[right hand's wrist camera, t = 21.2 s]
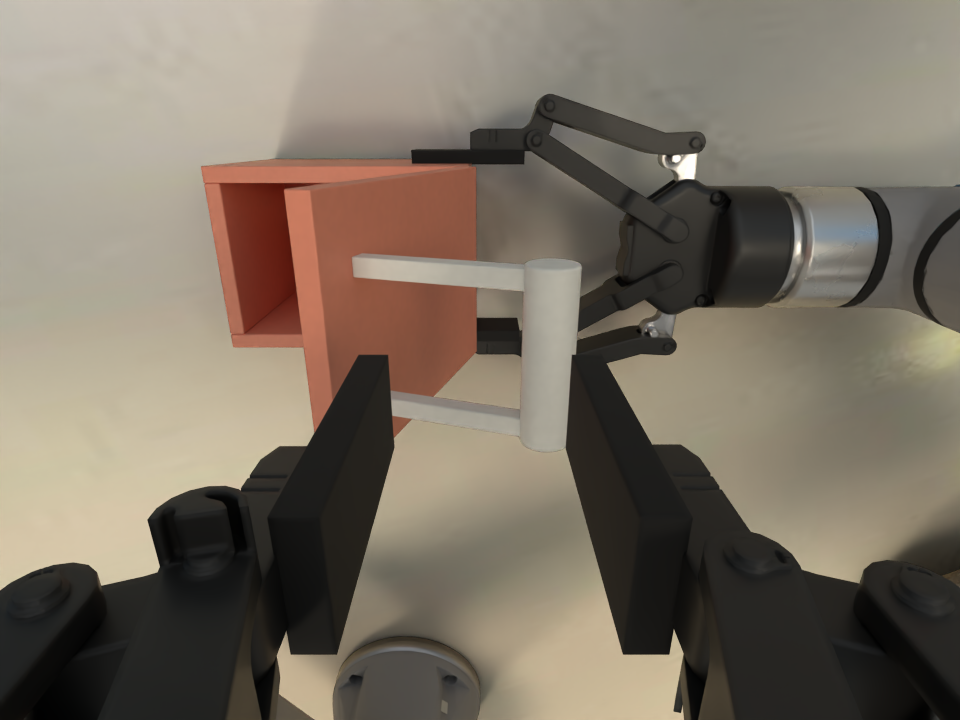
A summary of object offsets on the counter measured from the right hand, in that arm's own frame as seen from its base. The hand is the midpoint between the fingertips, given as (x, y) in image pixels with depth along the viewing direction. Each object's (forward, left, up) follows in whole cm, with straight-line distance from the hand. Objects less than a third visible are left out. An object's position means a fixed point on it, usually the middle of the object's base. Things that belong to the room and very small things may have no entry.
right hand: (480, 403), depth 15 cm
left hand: (-2, +3, -22) cm, 23 cm away
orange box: (-2, +3, -11) cm, 11 cm away
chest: (-5, +6, -29) cm, 30 cm away
